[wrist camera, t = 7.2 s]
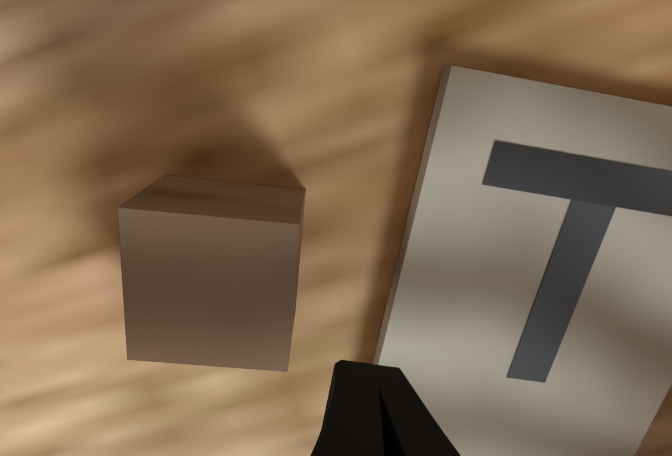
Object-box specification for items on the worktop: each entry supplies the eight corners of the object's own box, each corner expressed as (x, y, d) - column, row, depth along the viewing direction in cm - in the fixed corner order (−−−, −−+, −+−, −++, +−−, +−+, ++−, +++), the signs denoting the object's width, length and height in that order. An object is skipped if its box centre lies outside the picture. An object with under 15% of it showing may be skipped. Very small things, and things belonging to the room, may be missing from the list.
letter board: (605, 467, 21) (618, 487, 20) (354, 437, 20) (356, 456, 19) (775, 127, 16) (805, 131, 15) (444, 65, 15) (452, 65, 14)
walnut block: (295, 307, 18) (287, 371, 14) (169, 297, 18) (127, 359, 14) (305, 187, 16) (299, 224, 12) (166, 174, 16) (117, 207, 12)
